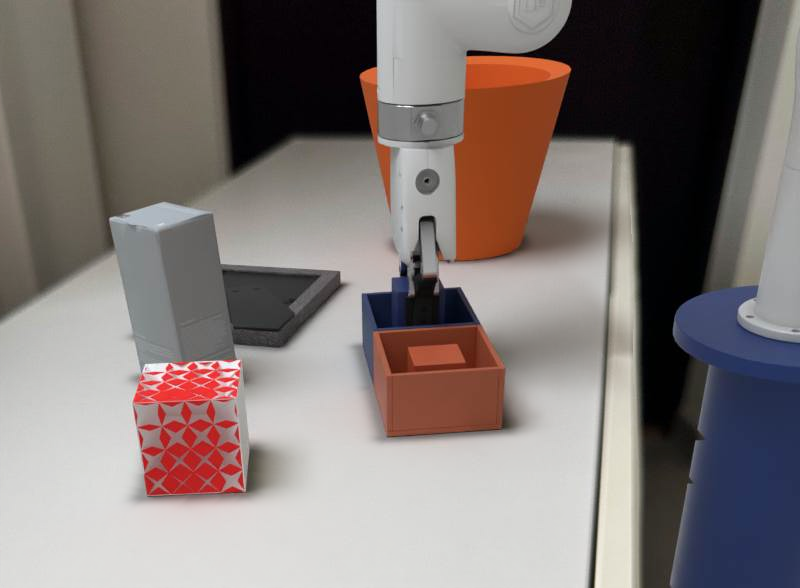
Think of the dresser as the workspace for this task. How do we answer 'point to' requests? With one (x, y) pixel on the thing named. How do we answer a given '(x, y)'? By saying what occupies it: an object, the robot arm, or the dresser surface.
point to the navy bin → (380, 319)
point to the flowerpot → (494, 147)
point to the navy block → (399, 301)
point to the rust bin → (438, 383)
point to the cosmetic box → (173, 284)
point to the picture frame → (273, 300)
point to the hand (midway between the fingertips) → (417, 326)
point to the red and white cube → (192, 427)
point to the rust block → (435, 358)
